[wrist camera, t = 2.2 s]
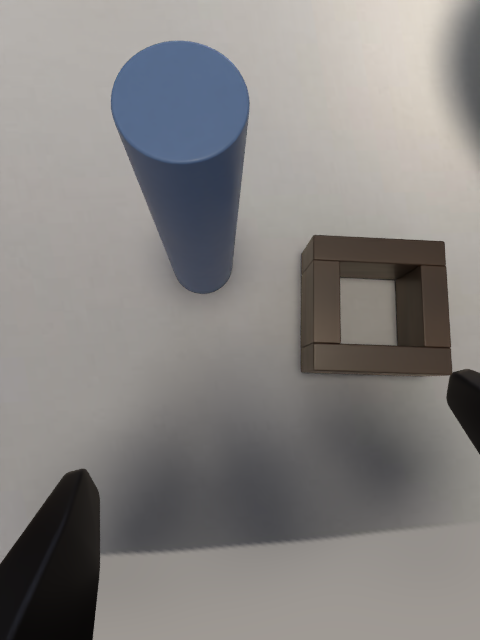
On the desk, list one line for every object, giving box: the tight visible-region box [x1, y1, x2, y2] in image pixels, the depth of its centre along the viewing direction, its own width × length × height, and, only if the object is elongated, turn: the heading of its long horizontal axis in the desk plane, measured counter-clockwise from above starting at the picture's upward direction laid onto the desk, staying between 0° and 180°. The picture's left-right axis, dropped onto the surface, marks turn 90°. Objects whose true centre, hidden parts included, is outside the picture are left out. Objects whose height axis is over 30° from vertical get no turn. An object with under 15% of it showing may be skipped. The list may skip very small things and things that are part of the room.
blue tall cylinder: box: [111, 41, 250, 293], centre depth 16 cm, size 3×3×14 cm
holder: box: [301, 235, 452, 376], centre depth 21 cm, size 7×7×3 cm
